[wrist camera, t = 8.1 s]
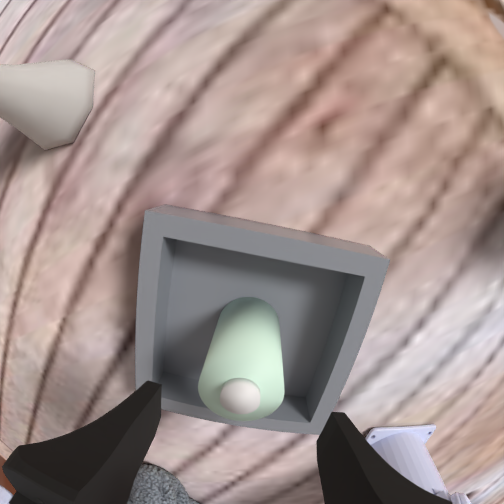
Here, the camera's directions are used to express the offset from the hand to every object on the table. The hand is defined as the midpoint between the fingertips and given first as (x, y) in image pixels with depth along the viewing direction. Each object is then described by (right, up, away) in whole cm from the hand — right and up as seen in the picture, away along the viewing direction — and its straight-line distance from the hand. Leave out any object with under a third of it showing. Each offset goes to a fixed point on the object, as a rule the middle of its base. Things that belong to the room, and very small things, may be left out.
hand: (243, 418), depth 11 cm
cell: (0, +2, +9) cm, 9 cm away
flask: (-14, +18, +6) cm, 24 cm away
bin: (0, +2, +9) cm, 9 cm away
